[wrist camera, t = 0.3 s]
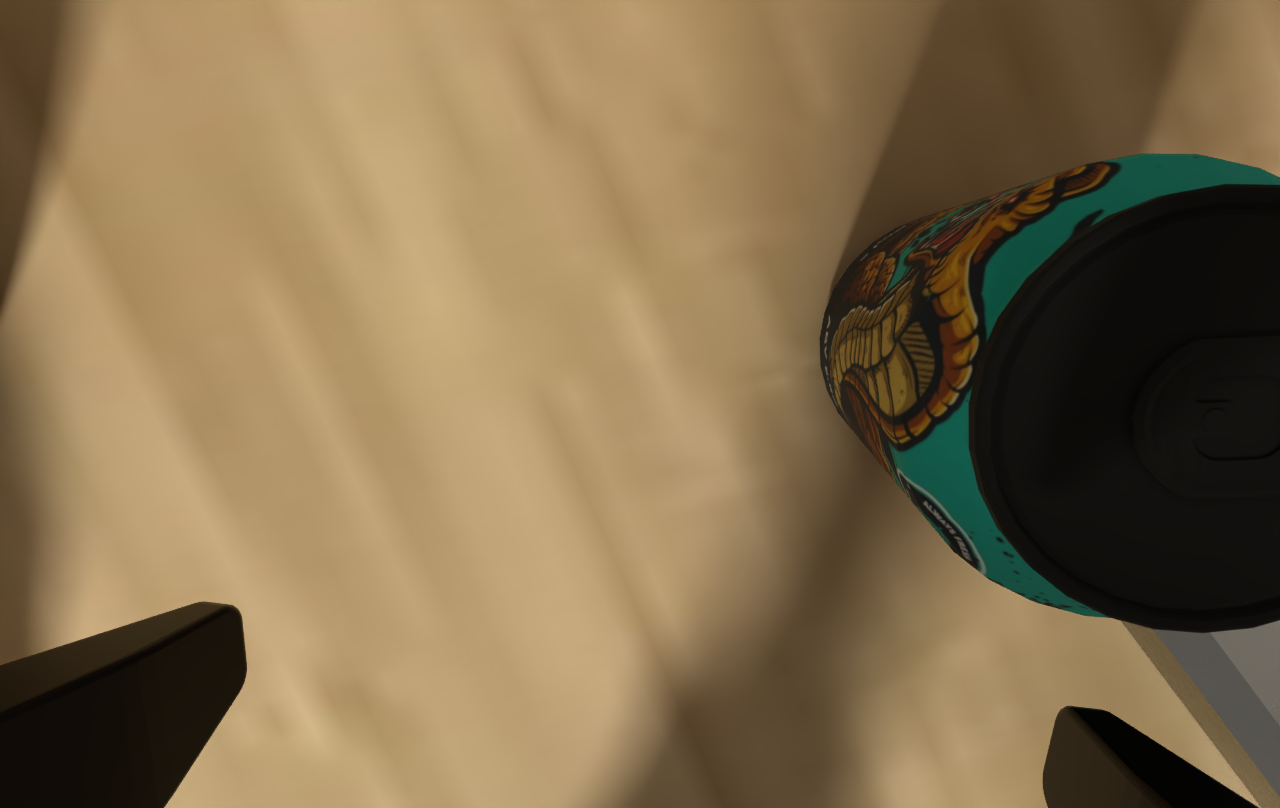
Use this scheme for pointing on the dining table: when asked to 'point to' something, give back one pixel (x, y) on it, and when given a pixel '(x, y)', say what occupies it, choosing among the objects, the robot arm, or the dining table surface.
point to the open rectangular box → (1228, 694)
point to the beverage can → (1084, 386)
